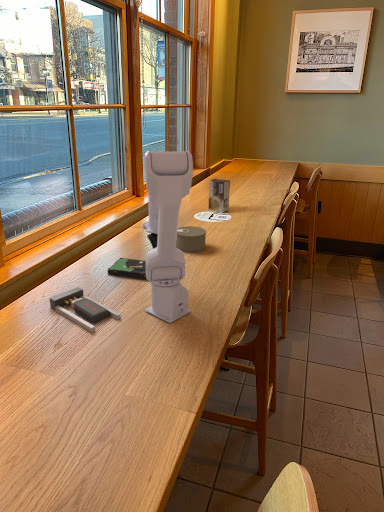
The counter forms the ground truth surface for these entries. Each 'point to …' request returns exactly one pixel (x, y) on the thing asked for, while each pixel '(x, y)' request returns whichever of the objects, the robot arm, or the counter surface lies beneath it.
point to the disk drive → (129, 268)
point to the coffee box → (219, 195)
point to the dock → (65, 300)
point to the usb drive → (90, 310)
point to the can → (191, 239)
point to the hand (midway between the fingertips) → (159, 257)
